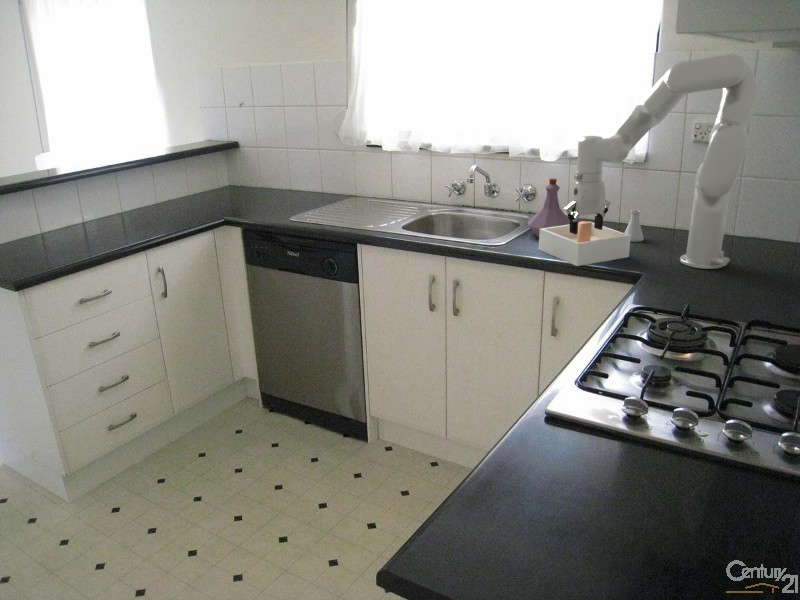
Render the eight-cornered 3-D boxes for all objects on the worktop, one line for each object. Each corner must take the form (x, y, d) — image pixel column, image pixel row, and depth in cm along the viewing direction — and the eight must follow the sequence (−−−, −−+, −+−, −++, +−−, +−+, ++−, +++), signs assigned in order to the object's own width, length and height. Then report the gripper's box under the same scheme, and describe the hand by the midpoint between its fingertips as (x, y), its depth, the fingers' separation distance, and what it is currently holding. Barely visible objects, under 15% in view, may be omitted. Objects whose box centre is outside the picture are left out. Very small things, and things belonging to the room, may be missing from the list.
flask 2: (645, 242, 227) (648, 213, 223) (622, 242, 228) (625, 213, 225) (642, 237, 233) (645, 208, 230) (620, 236, 235) (623, 208, 231)
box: (628, 257, 212) (630, 235, 210) (576, 266, 205) (578, 244, 202) (587, 241, 230) (589, 221, 227) (538, 249, 222) (539, 228, 220)
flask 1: (559, 228, 247) (562, 173, 240) (582, 239, 232) (587, 181, 225) (518, 232, 243) (520, 176, 235) (539, 244, 228) (542, 185, 221)
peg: (591, 253, 216) (594, 223, 213) (581, 255, 215) (584, 225, 211) (583, 250, 220) (586, 220, 216) (573, 252, 218) (576, 222, 215)
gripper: (573, 182, 202) (571, 237, 208) (619, 176, 208) (615, 229, 214) (558, 178, 209) (556, 232, 215) (603, 172, 215) (600, 224, 221)
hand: (585, 231), depth 214 cm, fingers open, 9 cm apart
